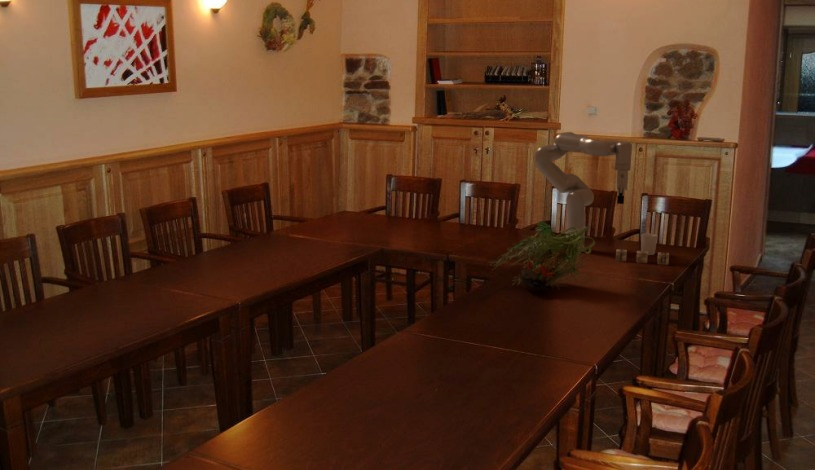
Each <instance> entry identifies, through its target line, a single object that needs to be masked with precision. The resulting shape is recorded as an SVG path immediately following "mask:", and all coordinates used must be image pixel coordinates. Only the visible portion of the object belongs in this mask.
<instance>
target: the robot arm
mask: <svg viewBox="0 0 815 470" xmlns="http://www.w3.org/2000/svg"><path fill="white" fill-rule="evenodd" d="M570 151H571V152H578V153H583V154H586V155H591V156H596V157H597V156H598V157H610V156H615V161H614V170H616V189H617V191H618V193H617V197H616V204H617V205H619V204H620V205H624V203H625V195H624V194H625V191H628V182H629V172H630V171H631V168H632V167H631V166H632V154H633V153H632V152H633V144H632V143H631V142H630V141H618V140H613V139H612V140H604V141H603V140H595V139H590V138H588V136H587V135H583V134H576V133H574V132H572V131H567V132H560V133H558V134H557V135H556V136H555V137H554V143H553V144H547V145H542V146H540V147H539V148H537V150H536V151H535V153H534V163H535V167H536V168H537V170H538V171H539V172H540V173H541V174H542V175H543V176H544V177H545V178H546V180H547V181H549V182H550V184H551V185H552V186H553V187H554V188H555V189H556V190H557V191H558V192H559V193H562V194H567V193H568V194H567V196H566V199H565V200H566V201H565V202H566V214H567V215H566V229H565V231H566V230H567V229H569V228H571V227H573V228H576V229H577V232H578V234H579V233H580V231H582V230H584V229H585V228H584V227H586V218H587V215H586V208H585V207H588V206H589V205H591V204H593V202H594V200H595V195H594V192H593V191H592V189H591V188H590V187H589V186H588V185H587V184H586V183H585V182H584V181H583V180H582V179H581V178H580V177H579V176H578V175H577V174H574V173H566V172H564V171H563V170H562V169H561V168H560V167H559V166H558V165H556V164H555V163H554V162H553V161H558V160H559V159H561V158H562V157H564V156H565V155H566V154H567V153H569V152H570ZM581 228H582V229H581ZM578 229H579V230H578ZM568 231H573V233H574V234H575V231H574V229H570V230H568ZM568 231H567V232H565V234H568V233H569V234H571V235H572V233H570V232H568ZM585 234H586V231H585V232H584V233H583V235H582V236H581V238H582V237H585ZM567 236H568V235H566V236H565V238H567ZM575 236H576V234H575ZM581 240H582V239H581ZM578 244H579V243H578ZM580 245H581V242H580ZM560 246H562V245H560ZM578 246H579V245H578ZM585 247H586V246H585V245H584V246H583V248H585ZM578 251H579V250H578ZM584 251H586V252H587V250H584ZM581 253H583V251H581Z"/></svg>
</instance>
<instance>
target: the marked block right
mask: <svg viewBox="0 0 815 470" xmlns="http://www.w3.org/2000/svg"><path fill="white" fill-rule="evenodd" d="M669 260H670V253H669V252H660V251H659V252H658V251H657V260H656V261H657V265H664V266H668V265H669V262H670V261H669Z"/></svg>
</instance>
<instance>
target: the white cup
mask: <svg viewBox="0 0 815 470" xmlns="http://www.w3.org/2000/svg"><path fill="white" fill-rule="evenodd" d="M640 237H641V240H640V251H648V256H655V255H656V249H657V240H658V234H654V233H648V232H647V233H641V235H640Z"/></svg>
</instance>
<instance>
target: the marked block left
mask: <svg viewBox="0 0 815 470" xmlns="http://www.w3.org/2000/svg"><path fill="white" fill-rule="evenodd" d="M627 251H628V250H627V249H620V248H617V249H616V252H615V262H624V261H625V262H627V254H628V253H627Z"/></svg>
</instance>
